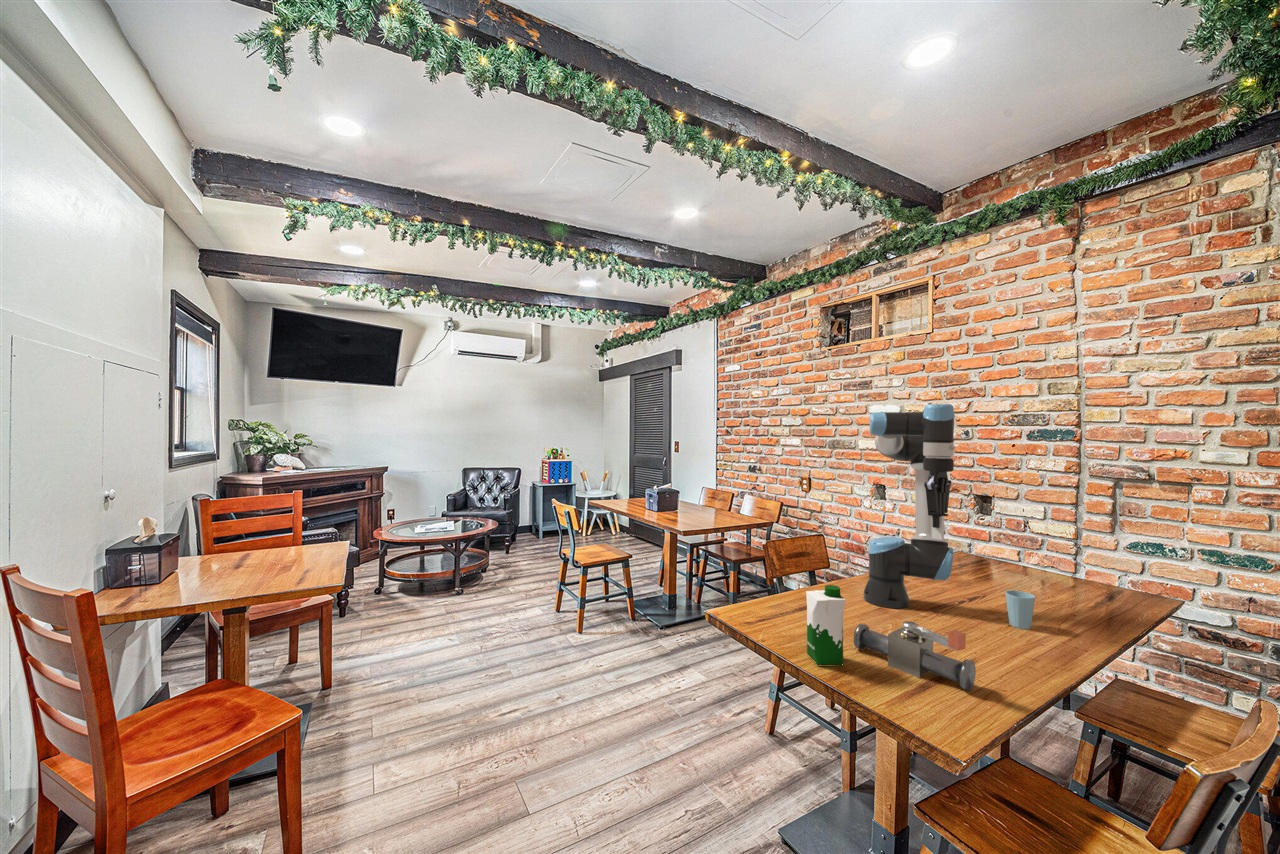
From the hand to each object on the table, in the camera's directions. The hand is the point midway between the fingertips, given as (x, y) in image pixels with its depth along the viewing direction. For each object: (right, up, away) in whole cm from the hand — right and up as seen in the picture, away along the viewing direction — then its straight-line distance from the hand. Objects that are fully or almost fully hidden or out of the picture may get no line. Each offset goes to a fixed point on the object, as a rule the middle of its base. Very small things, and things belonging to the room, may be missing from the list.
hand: (937, 538), depth 139 cm
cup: (+38, -33, +18) cm, 53 cm away
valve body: (-14, -32, -10) cm, 37 cm away
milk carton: (-35, -32, -7) cm, 48 cm away
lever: (-11, -22, -16) cm, 30 cm away
